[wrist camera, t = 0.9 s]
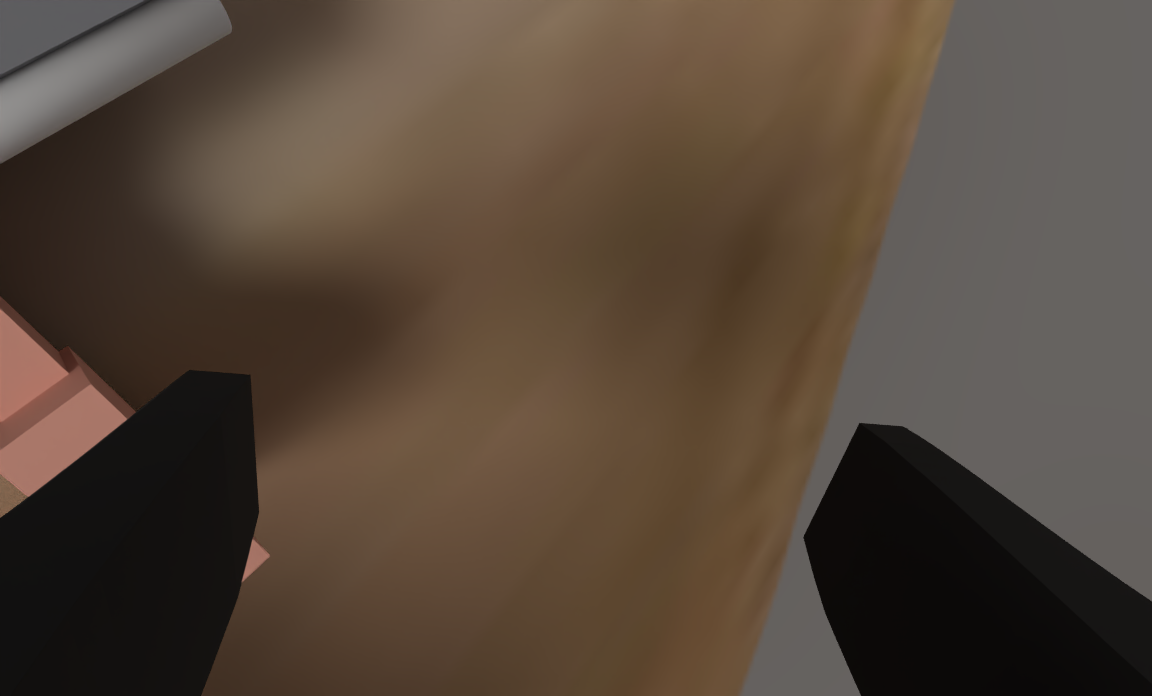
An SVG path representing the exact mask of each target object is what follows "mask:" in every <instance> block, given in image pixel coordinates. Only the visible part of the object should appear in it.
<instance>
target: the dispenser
mask: <svg viewBox="0 0 1152 696" xmlns="http://www.w3.org/2000/svg"><path fill="white" fill-rule="evenodd" d="M231 32H232V25H231V22H230V19H229V16H228V14H227V12H226V10H225V8H224V7H223V5H222V3H221V2H220V0H0V164H1V163H3V162H5V161H6V160H8V159H10V158H12V157H13V156H15V155H17V154H19V153H21V152H22V151H24V150H26V149H28V148H29V147H31V146H33V145H35V144H36V143H38V142H40V141H42V140H43V139H45V138H47V137H49V136H50V135H52V134H54V133H56V132H58V131H59V130H61V129H63V128H65V127H66V126H68V125H70V124H72V123H73V122H75V121H77V120H79V119H80V118H82V117H84V116H86V115H88V114H89V113H91V112H93V111H95V110H96V109H98V108H100V107H102V106H103V105H105V104H107V103H109V102H110V101H112V100H114V99H116V98H117V97H119V96H121V95H123V94H125V93H126V92H128V91H130V90H132V89H133V88H135V87H137V86H139V85H140V84H142V83H144V82H146V81H147V80H149V79H151V78H153V77H155V76H156V75H158V74H160V73H162V72H163V71H165V70H167V69H169V68H170V67H172V66H174V65H176V64H177V63H179V62H181V61H183V60H185V59H186V58H188V57H190V56H192V55H193V54H195V53H197V52H199V51H200V50H202V49H204V48H206V47H207V46H209V45H211V44H213V43H214V42H216V41H218V40H220V39H222V38H223V37H225V36H227V35H229V34H230V33H231Z"/></svg>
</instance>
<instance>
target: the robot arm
mask: <svg viewBox="0 0 1152 696" xmlns="http://www.w3.org/2000/svg"><path fill="white" fill-rule="evenodd" d="M258 514H259V505H258V489H257V473H256V457H255V441H254V425H253V409H252V393H251V377H250V375H245V374H232V373H220V372H207V371H194V370H189V371H187V372H186V373H185V374H183V375H182V376H181V377H179V378H178V379H177V380H176V381H174V382H173V383H172V384H170V385H169V386H168V387H167V388H165V389H164V390H163V391H161V392H160V393H159V394H158V395H157V396H155V397H154V398H153V399H152V400H150V401H149V402H148V403H147V404H145V405H144V406H143V407H142V408H140V409H139V410H138V411H137V412H136V413H134V414H133V415H132V416H131V417H129V418H128V419H127V420H126V421H124V422H123V423H122V424H121V425H120V426H118V427H117V428H116V429H115V430H113V431H112V432H111V433H110V434H108V435H107V436H106V437H105V438H103V439H102V440H101V441H100V442H98V443H97V444H96V445H95V446H93V447H92V448H91V449H90V450H88V451H87V452H86V453H85V454H83V455H82V456H81V457H80V458H78V459H77V460H76V461H74V462H73V463H72V464H70V465H69V466H68V467H67V468H65V469H64V470H63V471H61V472H60V473H59V474H57V475H56V476H55V477H54V478H52V479H51V480H50V481H48V482H47V483H46V484H44V485H43V486H42V487H41V488H39V489H38V490H37V491H35V492H34V493H33V494H31V495H30V496H29V497H28V498H26V499H25V500H24V501H22V502H21V503H20V504H18V505H17V506H16V507H14V508H13V509H12V510H10V511H9V512H8V513H6V514H5V515H4V516H2V517H1V518H0V696H201V694H202V691H203V689H204V686H205V684H206V681H207V678H208V676H209V673H210V671H211V668H212V665H213V663H214V660H215V657H216V655H217V652H218V649H219V647H220V644H221V641H222V639H223V636H224V633H225V631H226V628H227V625H228V623H229V620H230V617H231V615H232V612H233V609H234V607H235V604H236V601H237V598H238V595H239V591H240V587H241V583H242V579H243V575H244V572H245V568H246V564H247V560H248V556H249V552H250V548H251V543H252V539H253V535H254V531H255V527H256V523H257V518H258ZM804 541H805V545H806V548H807V552H808V556H809V560H810V564H811V567H812V571H813V575H814V578H815V582H816V585H817V588H818V591H819V595H820V598H821V601H822V604H823V607H824V610H825V613H826V616H827V618H828V620H829V623H830V625H831V628H832V630H833V633H834V635H835V637H836V640H837V642H838V644H839V646H840V648H841V651H842V653H843V656H844V658H845V660H846V663H847V665H848V667H849V669H850V672H851V674H852V676H853V679H854V681H855V683H856V685H857V688H858V690H859V692H860V694H861V696H1152V601H1150V600H1149V599H1147V598H1146V597H1144V596H1143V595H1141V594H1140V593H1138V592H1137V591H1136V590H1134V589H1132V588H1131V587H1129V586H1128V585H1127V584H1125V583H1124V582H1122V581H1121V580H1120V579H1118V578H1117V577H1115V576H1114V575H1112V574H1111V573H1110V572H1108V571H1107V570H1105V569H1104V568H1103V567H1101V566H1100V565H1098V564H1097V563H1095V562H1094V561H1093V560H1091V559H1090V558H1088V557H1087V556H1086V555H1084V554H1083V553H1081V552H1080V551H1079V550H1077V549H1076V548H1074V547H1073V546H1072V545H1070V544H1069V543H1068V542H1066V541H1065V540H1063V539H1062V538H1061V537H1059V536H1058V535H1057V534H1055V533H1054V532H1052V531H1051V530H1050V529H1048V528H1047V527H1045V526H1044V525H1043V524H1041V523H1040V522H1039V521H1037V520H1036V519H1035V518H1033V517H1032V516H1030V515H1029V514H1028V513H1026V512H1025V511H1024V510H1022V509H1021V508H1020V507H1018V506H1017V505H1015V504H1014V503H1012V502H1011V501H1010V500H1009V499H1007V498H1006V497H1005V496H1003V495H1002V494H1001V493H999V492H998V491H996V490H995V489H994V488H992V487H991V486H990V485H988V484H987V483H986V482H984V481H983V480H981V479H980V478H979V477H977V476H976V475H975V474H973V473H972V472H970V471H969V470H967V469H966V468H965V467H963V466H962V465H961V464H959V463H958V462H956V461H955V460H954V459H952V458H951V457H949V456H948V455H946V454H945V453H944V452H942V451H941V450H939V449H938V448H936V447H935V446H933V445H932V444H930V443H929V442H927V441H926V440H924V439H923V438H921V437H920V436H918V435H916V434H915V433H913V432H911V431H909V430H908V429H907V428H905V427H902V426H891V425H877V424H865V423H859V425H858V427H857V429H856V431H855V433H854V435H853V437H852V439H851V441H850V443H849V446H848V448H847V450H846V452H845V454H844V456H843V458H842V460H841V462H840V464H839V466H838V468H837V470H836V472H835V474H834V476H833V478H832V480H831V482H830V484H829V486H828V488H827V490H826V492H825V494H824V496H823V498H822V500H821V502H820V504H819V506H818V508H817V510H816V513H815V515H814V516H813V519H812V521H811V523H810V525H809V527H808V529H807V531H806V533H805V535H804Z"/></svg>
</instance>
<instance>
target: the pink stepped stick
mask: <svg viewBox="0 0 1152 696" xmlns="http://www.w3.org/2000/svg"><path fill="white" fill-rule="evenodd" d="M134 413H136V412H135V411H134V410H133V409H132V408H131V407H130V406H129V405H128V404H127V403H126V402H125V401H124V400H123V399H122V398H121V397H120V396H119V395H118V394H117V393H116V392H115V391H114V390H113V389H112V388H111V387H110V386H109V385H108V384H107V383H106V382H104V381H103V380H102V379H101V378H100V377H99V376H98V375H97V374H96V373H95V372H94V371H93V370H92V369H91V368H90V367H89V366H88V365H87V364H86V363H85V362H84V361H83V360H82V359H81V358H80V357H79V356H78V355H77V354H76V353H75V352H73V351H72V350H71V349H70V348H69V347H68V346H66V347H65V348H64V349H62V350H61V351H59V352H58V351H57V350H56V349H55V348H54V347H53V346H52V345H51V344H50V343H49V342H48V341H47V340H46V339H45V338H44V337H43V336H42V335H41V334H39V333H38V332H37V331H36V330H35V329H34V328H33V327H32V326H31V325H30V324H29V323H28V322H27V321H26V320H25V319H24V318H23V317H22V316H21V315H20V314H19V313H18V312H16V311H15V310H14V309H13V308H12V307H11V306H10V305H9V304H8V303H7V302H6V301H5V300H4V299H3V298H2V297H1V296H0V474H1V475H2V476H3V477H5V478H6V479H7V480H8V481H9V482H11V483H12V484H13V485H14V486H15V487H17V488H18V489H19V490H20V491H22V492H23V493H24V494H25V495H26V496H28V497H29V496H30V495H31V494H33V493H34V492H35V491H37V490H38V489H39V488H41V487H42V486H43V485H44V484H46V483H47V482H48V481H50V480H51V479H52V478H54V477H55V476H56V475H57V474H59V473H60V472H61V471H63V470H64V469H65V468H67V467H68V466H69V465H70V464H72V463H73V462H74V461H76V460H77V459H78V458H80V457H81V456H82V455H83V454H85V453H86V452H87V451H88V450H90V449H91V448H92V447H93V446H95V445H96V444H97V443H98V442H100V441H101V440H102V439H103V438H105V437H106V436H107V435H108V434H110V433H111V432H112V431H113V430H115V429H116V428H117V427H118V426H120V425H121V424H122V423H123V422H124V421H126V420H127V419H128V418H129V417H131V416H132V415H133V414H134ZM268 557H270V555H269V554H268V552H267V551H266V550H265V549H264V548H263V547H262V545H261V544H260V543H259V542H258V541H257V540H256V538H255V537H254V536H253V539H252V543H251V548H250V552H249V556H248V560H247V564H246V568H245V572H244V575H243V579H242V582H243V581H244V580H245V579H246V578H247V577H248V576H249V575H250V574H251V573H252V572H254V571H255V570H256V569H257V568H258V567H259V566H260V565H261V564H262V563H263V562H264V561H265V560H266V559H267V558H268Z"/></svg>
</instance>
